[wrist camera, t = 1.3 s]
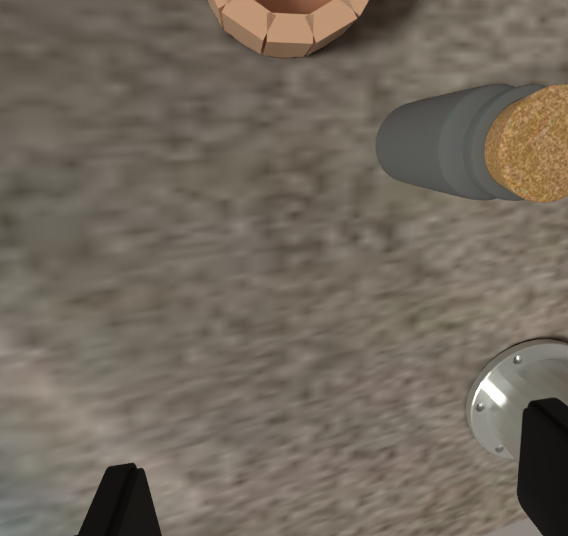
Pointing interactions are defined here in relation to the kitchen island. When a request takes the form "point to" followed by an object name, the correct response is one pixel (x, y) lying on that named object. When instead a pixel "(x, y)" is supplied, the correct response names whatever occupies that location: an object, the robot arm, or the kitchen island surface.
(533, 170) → the bottle
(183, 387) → the kitchen island surface
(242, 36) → the segmented wooden bowl
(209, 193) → the kitchen island surface
